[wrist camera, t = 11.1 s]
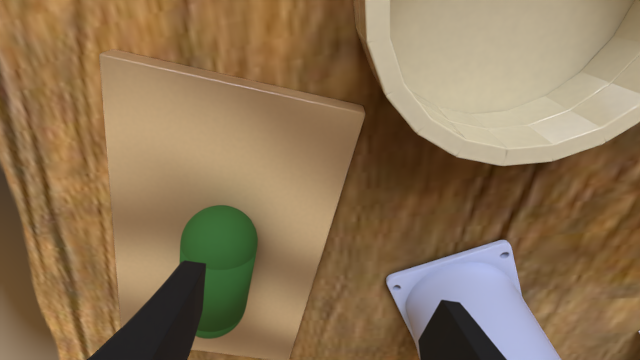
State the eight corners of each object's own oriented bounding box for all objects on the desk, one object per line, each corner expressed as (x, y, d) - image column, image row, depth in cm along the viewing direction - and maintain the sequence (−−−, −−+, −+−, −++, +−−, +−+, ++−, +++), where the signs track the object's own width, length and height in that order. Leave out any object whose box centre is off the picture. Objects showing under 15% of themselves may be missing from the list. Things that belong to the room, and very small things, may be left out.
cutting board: (289, 348, 27) (288, 362, 26) (129, 326, 26) (121, 340, 25) (363, 105, 18) (366, 113, 17) (111, 48, 16) (98, 53, 15)
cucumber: (241, 297, 23) (243, 351, 20) (180, 298, 22) (172, 355, 19) (260, 193, 19) (266, 240, 16) (186, 187, 18) (176, 237, 15)
